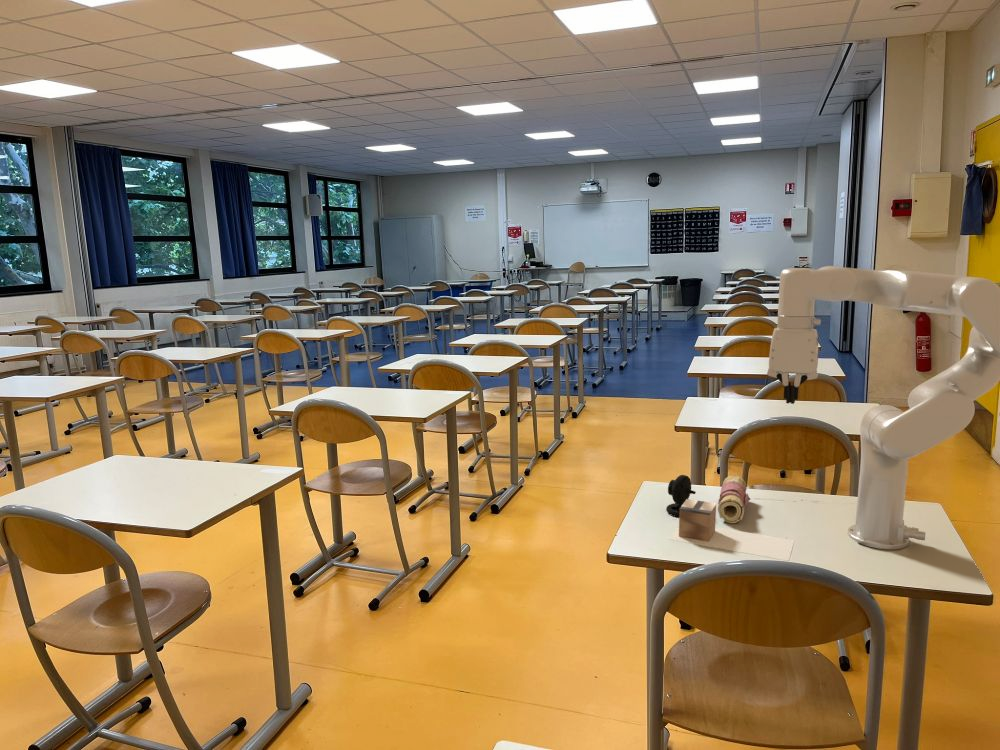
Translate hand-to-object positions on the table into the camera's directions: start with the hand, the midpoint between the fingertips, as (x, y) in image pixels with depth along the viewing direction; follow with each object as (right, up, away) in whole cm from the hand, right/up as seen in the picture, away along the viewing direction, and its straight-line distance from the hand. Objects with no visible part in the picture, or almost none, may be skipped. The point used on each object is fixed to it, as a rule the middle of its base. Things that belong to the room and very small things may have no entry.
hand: (790, 402), depth 163 cm
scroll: (-6, -29, +20) cm, 36 cm away
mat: (-13, -33, +2) cm, 35 cm away
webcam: (-20, -30, +20) cm, 41 cm away
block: (-20, -25, +4) cm, 32 cm away
